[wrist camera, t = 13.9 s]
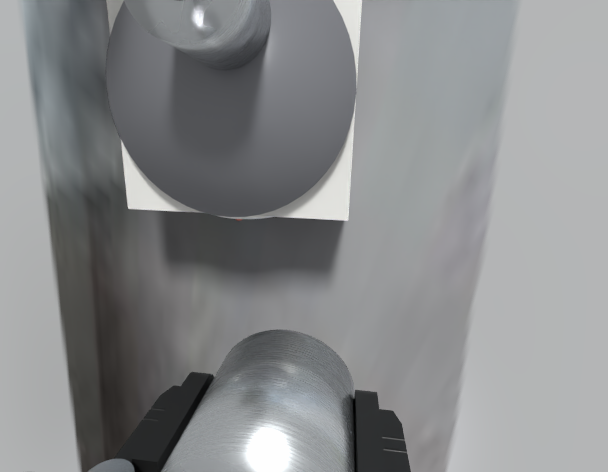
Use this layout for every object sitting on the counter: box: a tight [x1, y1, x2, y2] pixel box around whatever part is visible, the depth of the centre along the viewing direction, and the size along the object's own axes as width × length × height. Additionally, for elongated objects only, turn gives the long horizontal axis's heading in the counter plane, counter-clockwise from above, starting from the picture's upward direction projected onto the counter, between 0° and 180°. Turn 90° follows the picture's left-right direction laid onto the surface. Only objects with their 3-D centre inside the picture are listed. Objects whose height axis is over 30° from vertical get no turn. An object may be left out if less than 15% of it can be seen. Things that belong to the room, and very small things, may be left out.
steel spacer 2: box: [161, 330, 356, 472], centre depth 10 cm, size 5×5×5 cm
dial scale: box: [106, 0, 362, 221], centre depth 22 cm, size 14×14×7 cm
